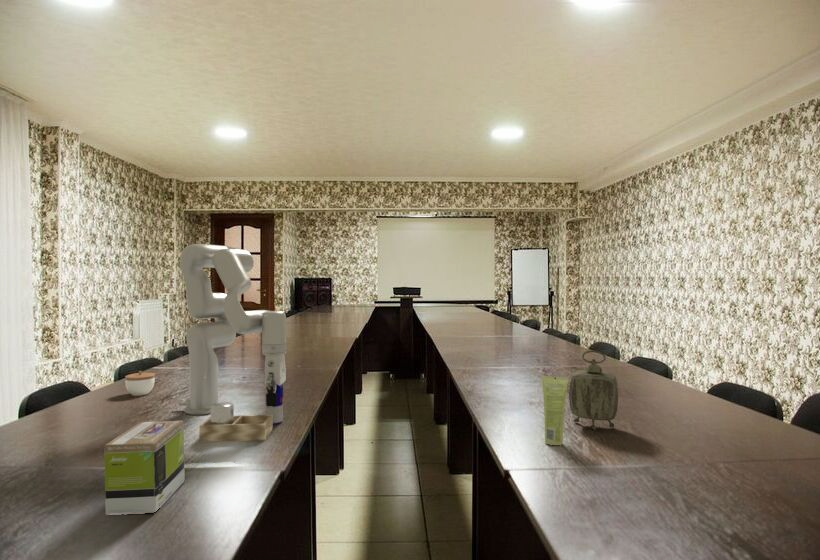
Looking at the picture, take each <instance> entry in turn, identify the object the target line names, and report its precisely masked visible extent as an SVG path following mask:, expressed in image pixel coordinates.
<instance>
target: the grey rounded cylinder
mask: <svg viewBox="0 0 820 560" xmlns="http://www.w3.org/2000/svg"><path fill="white" fill-rule="evenodd" d="M234 415H235V403H234V402H225V401H224V402H218V403H216V404H213V405H211V413H210V417H211V425H218V424H233V423H234Z"/></svg>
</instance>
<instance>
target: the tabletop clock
mask: <svg viewBox="0 0 820 560" xmlns="http://www.w3.org/2000/svg"><path fill="white" fill-rule="evenodd" d="M589 353H597V354H600V355H602V356H603V360H600V361H596V359H595V358H592V360H588V359H586V358H585V355H586V354H589ZM581 358H582V360H583V361H584V362H585V363H588V365H586V367H585V369H579V370H576V371H574V372H573V374H572V377H571V379H570V382H569V391H568V399H569V400H568V401H569V409H570V411H571V414H572V415H573V416H576V418H574V419H573V422H574V423H575V422H579V423H580V418H581V419H587V420H591V425H590V429H591V430H592V429H595V430H597V426H596V425H595V421H607V422H608V427H609V428H611V427H613V428H614V427H615V423H614V422H612V421H611V420H615V418H616V416H617V411H618V406H619V386H618V380H617V377H616V375H615V374H614V373H611V372H608V371H603V369H602V367H601V366H600V365H599V364H602V363H604V362H605V361H606V355H605V354H604V353H603V352H601V351H599V350H595V349H592V350H591V349H590V350H589V349H588V350H586V351H584V352H583V353H582V356H581Z"/></svg>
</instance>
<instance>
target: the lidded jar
mask: <svg viewBox="0 0 820 560" xmlns="http://www.w3.org/2000/svg"><path fill="white" fill-rule="evenodd" d="M124 379H125V382H124V383H125V387H126V391H127V392H128V393H130V394H131V396H136V397H137V396H145V395H148V394H149V393H150V392H151V391H152V389H154V386H155V381H156V374H155V372H142V370H139V371H138V372H135V373H131V374H127V375H125V376H124Z"/></svg>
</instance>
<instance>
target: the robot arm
mask: <svg viewBox="0 0 820 560" xmlns="http://www.w3.org/2000/svg"><path fill="white" fill-rule="evenodd" d="M254 262H255V261H254V257H253V255H252V254H251V253H250V252H249V251H247V250H246V249H242V248H241V249H240V248H236V247H233V246H227V245H222V244H221V245H219V244H209V243H208V244H206V243H192V244H190V245H189V244H188V245H187V246H186V247H184V248H183V249H182V251H181V253H180V257H179V266H180V270H181V274H182V277H183V280H184V284H185V285H184V286H185V293H186V294H185V295H186V304H187V310H188V313H189V316H190V317H191V318H192V319H195V320H206V319H214V321H209V322H208V321H206V322H199V323H195V324H192V325H191V326H190V327H189V328H188V329H187V330H186V334H185V335H186V339H185V340H186V343H187V349H188V357H189V358H188V359H189V360H188V361H189V367H188V368H189V375H188V376H189V378H188V379H189V380H188V382H189V387H188V389H189V390H188V391H189V392H188V393H189V395H188V396H189V397H188V398H179V399H178V401H177V404H178V406H186V407H185V408H184V413H185V414H187V415H194V416H195V415H208V414H211V405H213V404H216V403H219V359H218V357H217V354H216V353H215V351H214V348H221V347H226V346H230V345H232V344H233V343H234V341H236V336H237V334H239V335H251V334H259V333H260V334H261V339H262V340H261V341H262V343H261V349H262V352H261V353H262V355H263V356H265V357H264V358H265V360H264V386H265V385H266V386H267V387H266V406H276V405H277V393H276V387H277V385H279V386H280V385H282V384H283V385H284V383H285V382H286V380H287V376H286V375H287V371H286V370H287V369H286V356H285V355H286V354H287V315H286V313H285V312H284V311H283V310H282V311H281V310H268V309H259V310H258V309H256V310H252V309H251V310H244V308H243V306H242V304H241V302H240V298H239V297H240V296H241V295H243V294H245V293H247V292H248V290H249V289H251V286H252V281H251V278H250V277H249V274H248V273H249V272H250V271H252V269H253V268H254ZM203 268H209V269H215V271H216V273H217V274H218V277H219V279H220V280H221V283H222V284H223V286H224V288H225V290H226V293H223V292H213V290H212V282H211V279H210V278H209V275H208V273H207V272H206V271H205V269H203ZM273 387H274V389H273Z"/></svg>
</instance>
